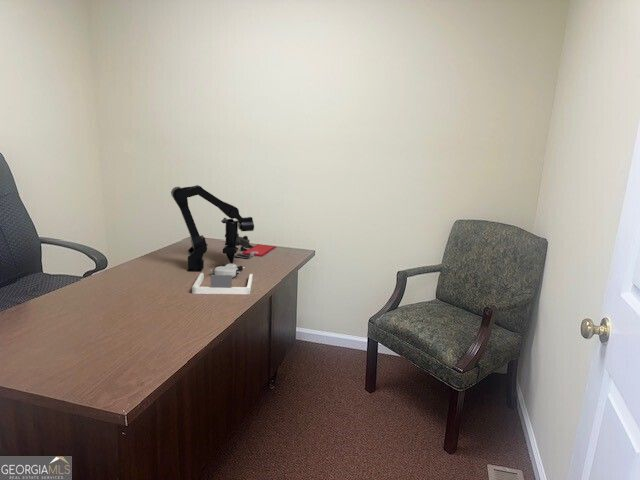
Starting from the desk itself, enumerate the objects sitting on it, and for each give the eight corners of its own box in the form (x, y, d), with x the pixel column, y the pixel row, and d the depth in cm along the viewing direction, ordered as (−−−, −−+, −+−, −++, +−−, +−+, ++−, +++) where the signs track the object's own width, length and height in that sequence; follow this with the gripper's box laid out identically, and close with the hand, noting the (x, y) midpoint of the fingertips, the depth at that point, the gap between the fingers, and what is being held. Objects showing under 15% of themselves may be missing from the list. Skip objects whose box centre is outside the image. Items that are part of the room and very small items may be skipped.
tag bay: (192, 293, 166) (191, 275, 164) (200, 278, 184) (200, 261, 183) (249, 294, 168) (249, 276, 166) (252, 279, 187) (252, 262, 185)
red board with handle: (229, 257, 220) (256, 261, 217) (229, 252, 220) (256, 255, 216) (252, 245, 249) (276, 248, 246) (252, 241, 248) (276, 244, 245)
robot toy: (220, 271, 199) (209, 278, 184) (220, 261, 198) (209, 268, 184) (246, 273, 198) (237, 280, 183) (246, 263, 198) (237, 270, 183)
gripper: (247, 236, 192) (247, 269, 195) (250, 228, 210) (249, 258, 213) (222, 235, 191) (222, 268, 194) (227, 227, 209) (227, 258, 212)
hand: (231, 263), depth 204 cm, fingers closed
